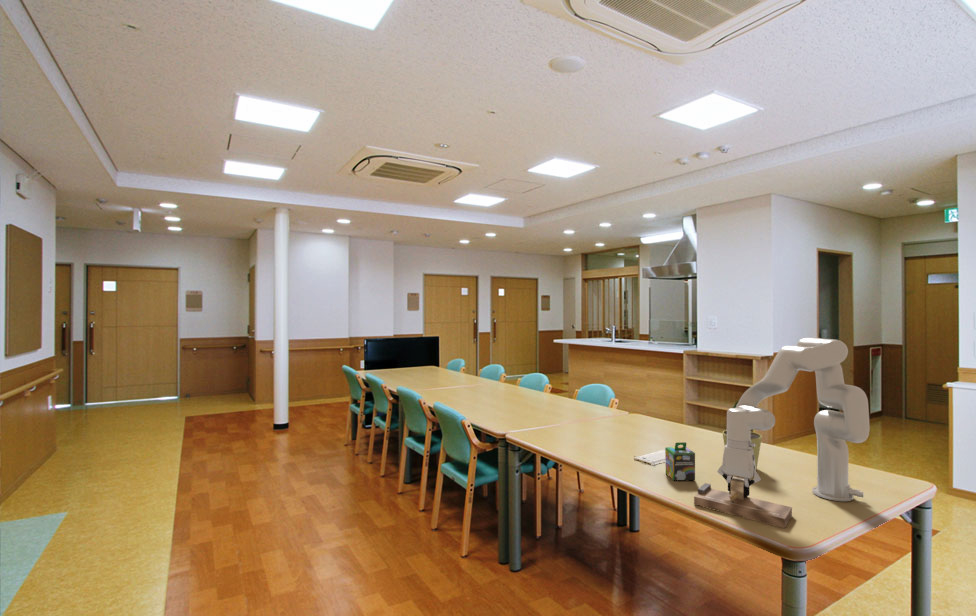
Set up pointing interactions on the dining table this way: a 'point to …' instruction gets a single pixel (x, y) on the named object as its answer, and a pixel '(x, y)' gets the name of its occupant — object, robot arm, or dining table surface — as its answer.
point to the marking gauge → (737, 489)
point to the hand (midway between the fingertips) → (738, 494)
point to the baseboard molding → (652, 457)
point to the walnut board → (744, 506)
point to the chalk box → (680, 462)
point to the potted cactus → (753, 437)
